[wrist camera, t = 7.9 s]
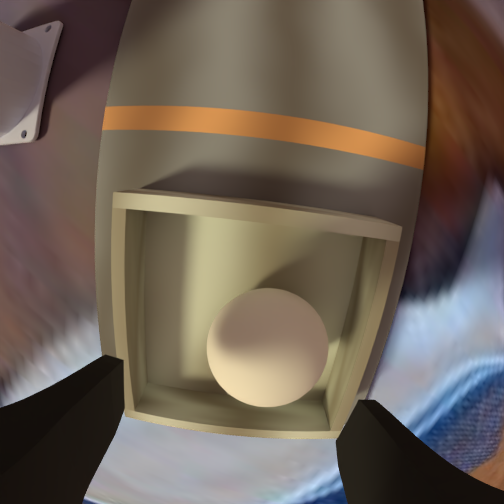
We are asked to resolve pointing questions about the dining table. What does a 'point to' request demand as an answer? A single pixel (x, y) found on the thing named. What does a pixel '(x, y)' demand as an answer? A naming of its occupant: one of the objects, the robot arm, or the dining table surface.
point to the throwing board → (257, 193)
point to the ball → (267, 347)
